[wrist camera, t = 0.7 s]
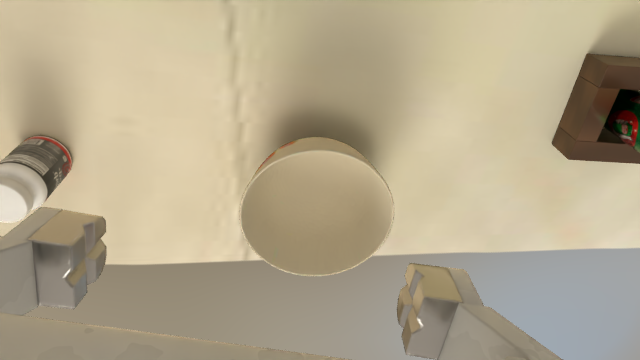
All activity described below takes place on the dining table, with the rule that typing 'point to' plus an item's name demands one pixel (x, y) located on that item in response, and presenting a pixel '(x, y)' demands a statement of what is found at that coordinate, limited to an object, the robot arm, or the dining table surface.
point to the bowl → (316, 208)
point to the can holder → (597, 111)
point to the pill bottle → (31, 176)
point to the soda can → (625, 118)
